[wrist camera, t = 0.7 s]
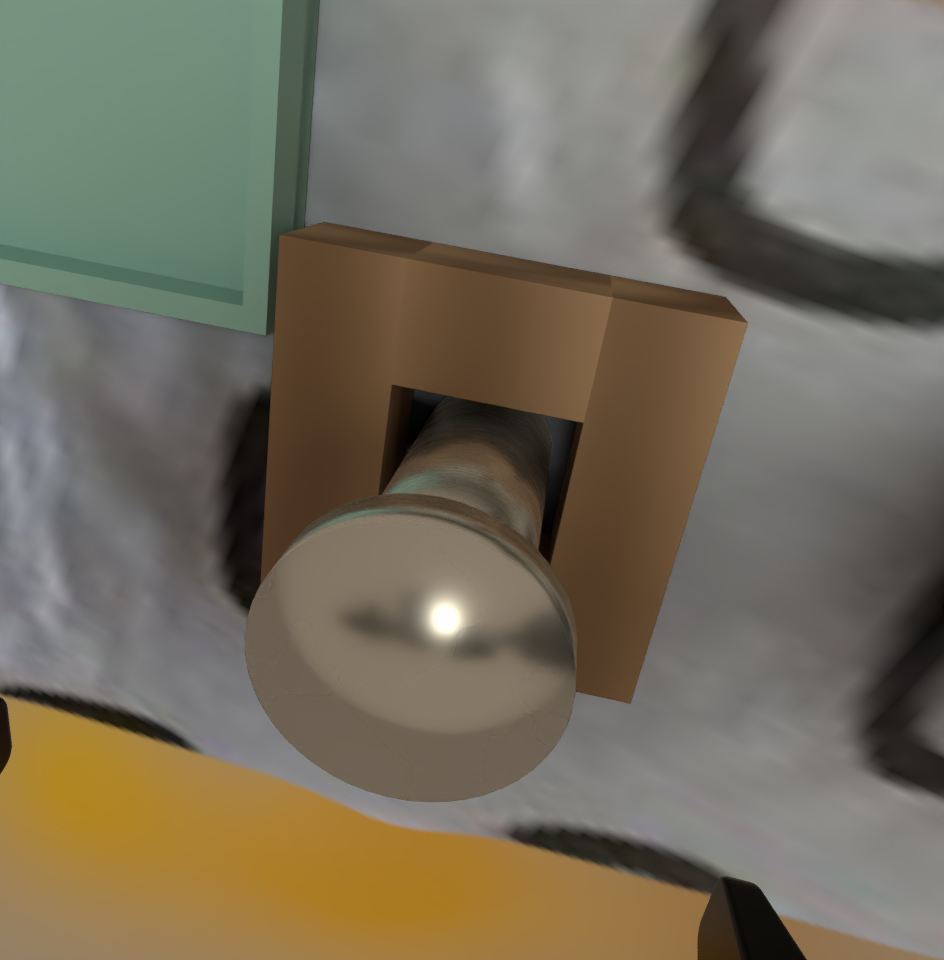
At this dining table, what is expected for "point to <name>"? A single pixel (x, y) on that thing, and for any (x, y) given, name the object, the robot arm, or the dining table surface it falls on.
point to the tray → (155, 151)
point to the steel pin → (425, 619)
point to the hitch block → (503, 403)
